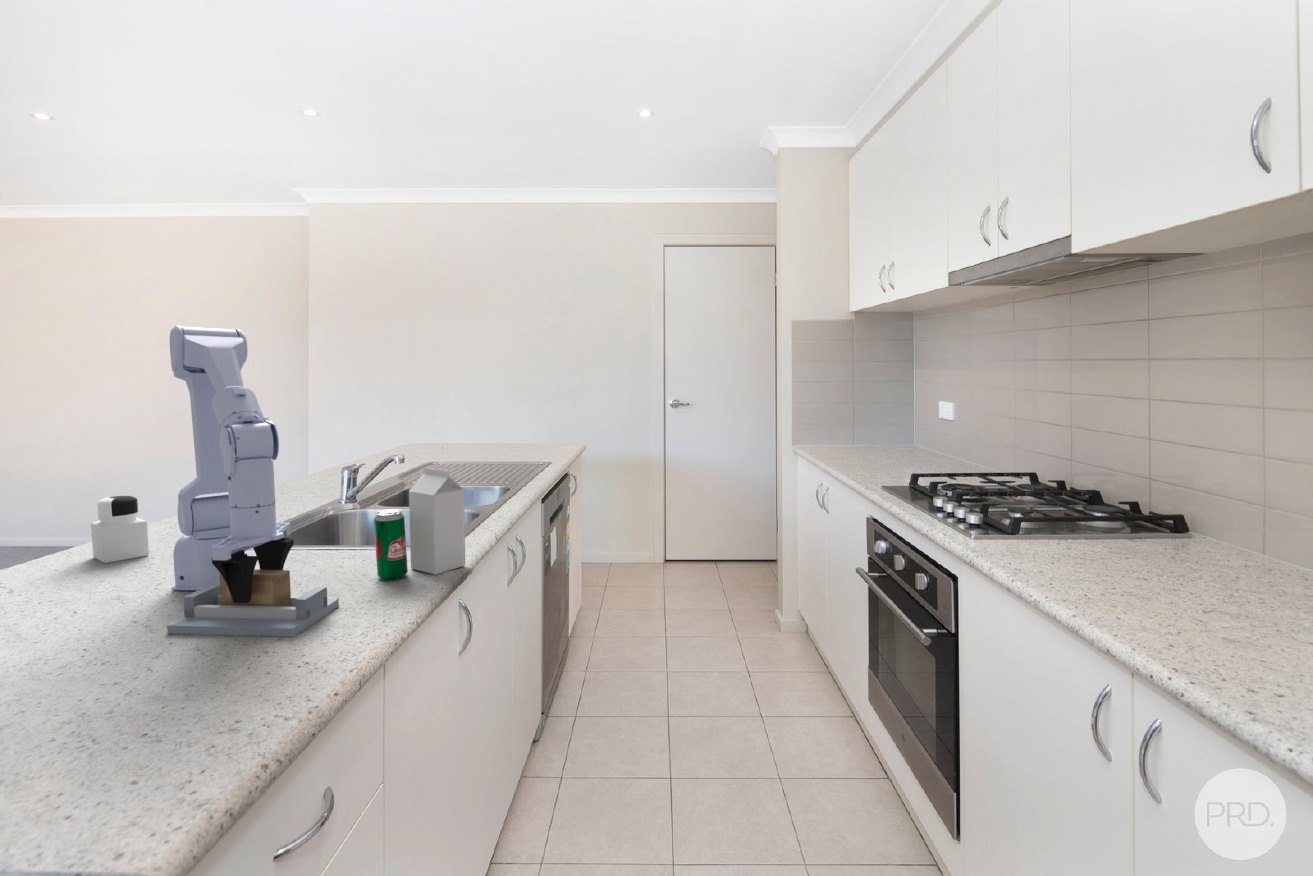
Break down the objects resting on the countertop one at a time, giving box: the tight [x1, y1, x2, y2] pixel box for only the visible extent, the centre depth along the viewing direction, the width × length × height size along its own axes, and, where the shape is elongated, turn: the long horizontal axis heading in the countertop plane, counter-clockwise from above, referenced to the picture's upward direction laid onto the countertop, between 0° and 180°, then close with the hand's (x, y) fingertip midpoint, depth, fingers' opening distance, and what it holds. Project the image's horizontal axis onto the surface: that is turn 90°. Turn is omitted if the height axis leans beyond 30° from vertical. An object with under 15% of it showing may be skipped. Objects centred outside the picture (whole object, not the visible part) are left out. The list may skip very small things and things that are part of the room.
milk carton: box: [408, 467, 466, 575], centre depth 120 cm, size 7×7×19 cm
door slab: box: [219, 569, 292, 607], centre depth 94 cm, size 9×2×6 cm, turn 88°
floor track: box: [166, 584, 340, 638], centre depth 94 cm, size 18×12×4 cm, turn 88°
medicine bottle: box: [90, 495, 150, 564], centre depth 125 cm, size 7×7×12 cm
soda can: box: [373, 508, 409, 581], centre depth 114 cm, size 5×5×12 cm
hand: (257, 594), depth 94 cm, fingers open, 6 cm apart
